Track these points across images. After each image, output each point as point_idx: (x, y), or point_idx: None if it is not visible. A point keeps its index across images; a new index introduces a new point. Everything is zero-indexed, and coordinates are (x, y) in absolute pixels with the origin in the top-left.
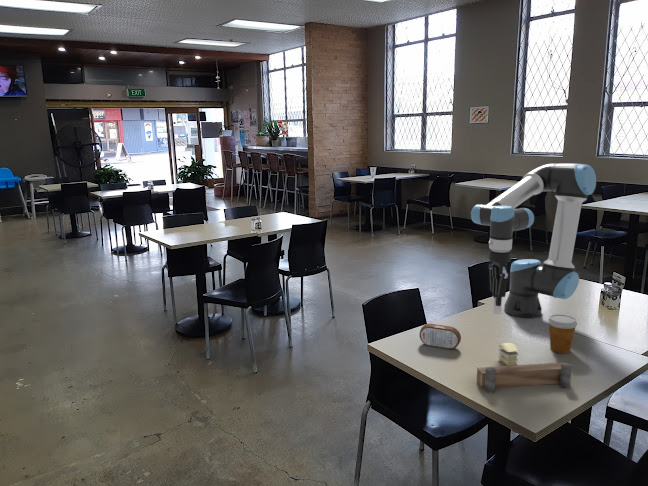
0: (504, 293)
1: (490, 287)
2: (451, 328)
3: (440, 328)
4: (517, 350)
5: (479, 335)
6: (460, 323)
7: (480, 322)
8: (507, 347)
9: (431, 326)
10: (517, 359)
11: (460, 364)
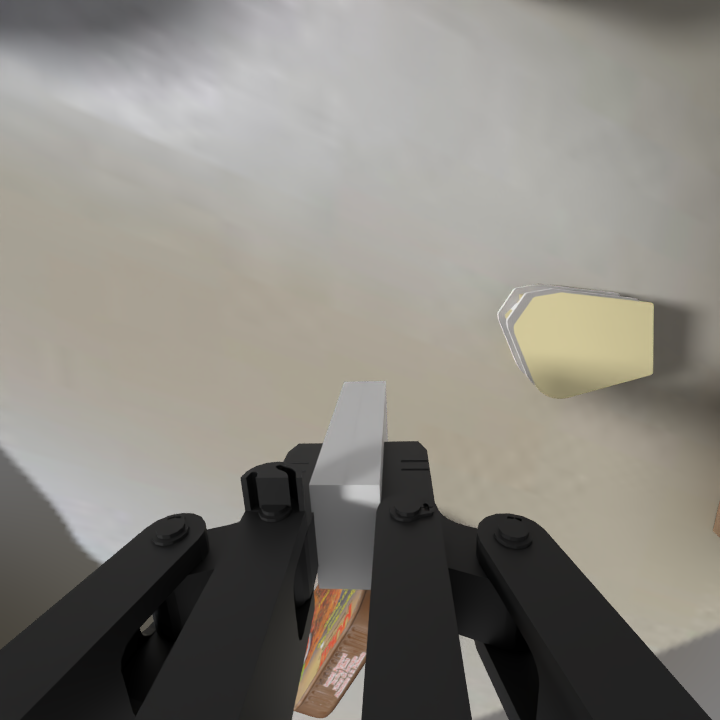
0: (588, 603)
1: (147, 675)
2: (367, 624)
3: (359, 670)
4: (646, 308)
5: (218, 356)
6: (58, 401)
7: (27, 287)
8: (586, 353)
9: (332, 704)
10: (613, 294)
11: None
